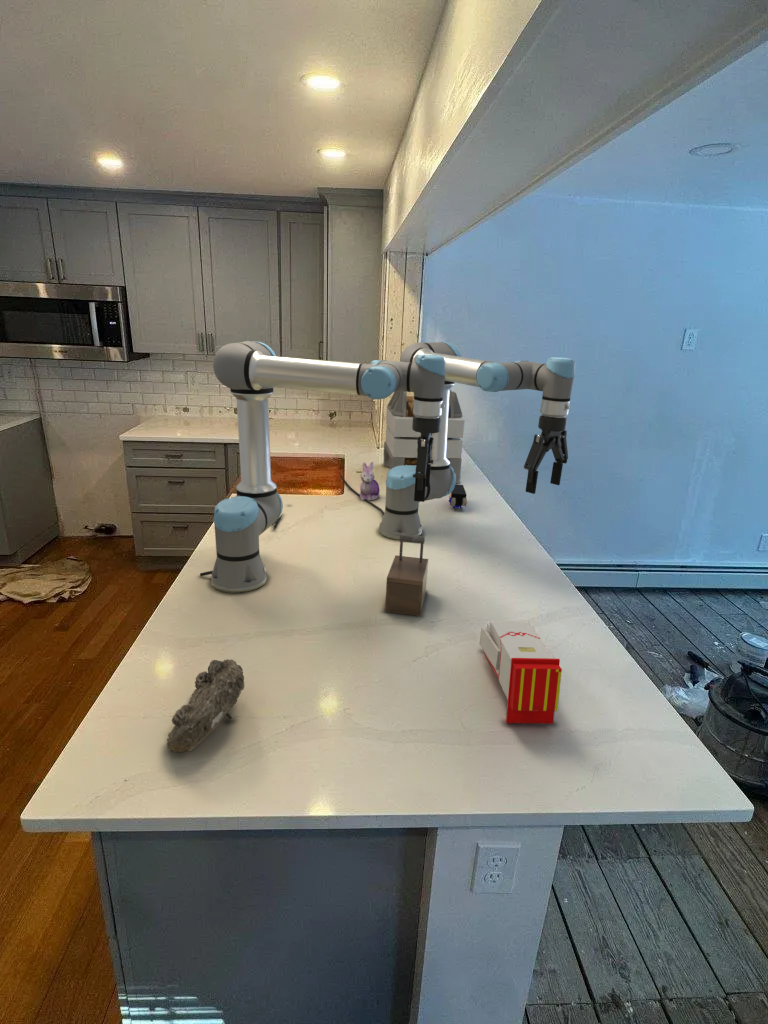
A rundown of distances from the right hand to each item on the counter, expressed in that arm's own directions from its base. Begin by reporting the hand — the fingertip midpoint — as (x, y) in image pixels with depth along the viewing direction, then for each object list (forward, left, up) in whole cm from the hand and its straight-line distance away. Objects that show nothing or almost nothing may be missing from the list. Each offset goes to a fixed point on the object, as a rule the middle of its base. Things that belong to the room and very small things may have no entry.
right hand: (542, 488), depth 165 cm
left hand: (-16, -33, 0) cm, 37 cm away
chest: (-10, -43, -28) cm, 52 cm away
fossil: (+2, -104, -28) cm, 107 cm away
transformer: (-100, +49, -28) cm, 115 cm away
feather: (-84, -37, -28) cm, 96 cm away
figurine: (-84, +5, -28) cm, 89 cm away
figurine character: (-56, +28, -28) cm, 68 cm away
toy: (+30, -48, -28) cm, 63 cm away
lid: (-10, -43, -19) cm, 48 cm away
